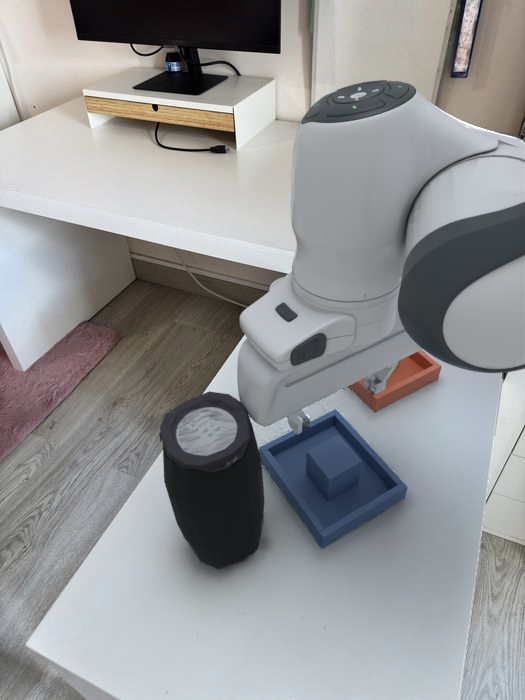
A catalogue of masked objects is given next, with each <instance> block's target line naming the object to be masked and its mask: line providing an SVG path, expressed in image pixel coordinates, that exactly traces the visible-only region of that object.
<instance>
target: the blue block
mask: <svg viewBox="0 0 525 700" xmlns="http://www.w3.org/2000/svg"><path fill="white" fill-rule="evenodd" d="M361 463H362V461H361V460H360V459H359V458H358V457H357V455H356V454H355V453H354V452H353V451H352V450H351V449H350V448H349V446H348V445H347V444H346V443H345V442H344V441H343V440H342V439H341V437H340V436H339V435H336V436H334V437H332V438H330V439H328V440H327V441H325V442H323V443H321V444H319V445H317V446H315V447H313V448H311V449H310V450H308V451H307V454H306V474H307V475H308V476H309V478H310V479H311V480H312V482H313V483H314V484H315V485H316V487H317V488H318V489H319V491H320V492H321V493H322V495H323V496H324V497H325V498H326V500H327V501H329V500H330V499H332V498H334V497H336V496H337V495H339V494H341V493H342V492H344V491H346V490H348V489H349V488H351V487H353V486H355V485H356V484H358V482H359V476H360V469H361Z"/></svg>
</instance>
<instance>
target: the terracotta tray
mask: <svg viewBox="0 0 525 700" xmlns="http://www.w3.org/2000/svg"><path fill="white" fill-rule="evenodd" d="M441 370H442V365H441V364H440V363H438V362H437V361H436V360H435V359H433V358H432V356H430V355H429V354H427V352H426V351H423V349H422V350H420V351H418V352H416V353H414V354H412V355H410V356H408V357H406V358H404V359H402V360H400V362H399V366H397V367H396V368H395V369H394V371H393V372H392V374H391V375H390V376H389V378H388V379H387V380H386V387H385V390H383V391H381V392H379V393H377V394H375V395H372V394H371V393H370V391H368V390H366V389H365V387H364V381H365V380H364V378H363V379H361V380H359V381H357V382H355V383H353V384H351V385H349V386H348V387H349V388H350V389H351V390H352V391H353V392H354V393H355V394H356V395H357V396H358V397H359V398H360V399H361V400H362V401H363V402H364V403H365V404H366V405H367V406H368V407H370V409H371V410H372V411H373V412H374V413H375V412H377V411H379V410H381V409H382V408H385V407H386V406H389V405H390V404H392V403H394V402H397V400H400V399H403V398H404V397H406V396H408V395H410V394H411V393H414V392H416V391H417V390H419V389H421V388H423V387H425V386H426V385H429V384H431V383H433V382H434V381H436V380H438V379H439V378H440V374H441Z"/></svg>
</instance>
